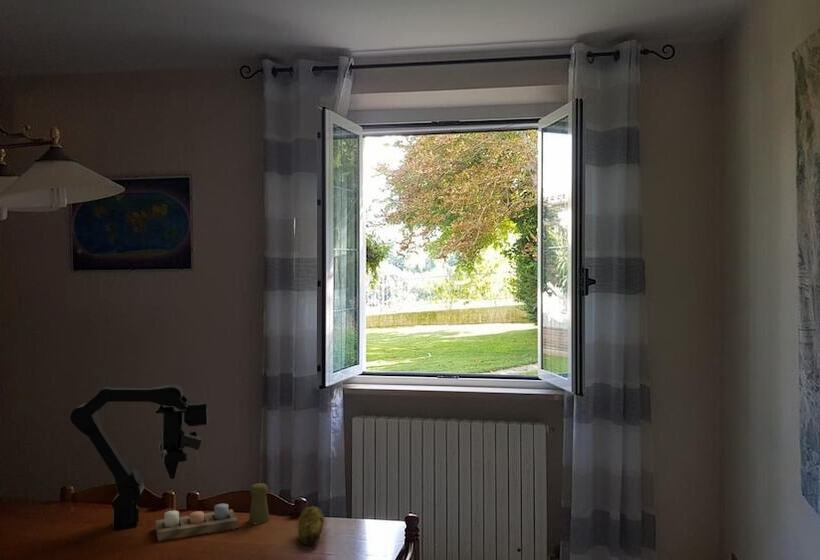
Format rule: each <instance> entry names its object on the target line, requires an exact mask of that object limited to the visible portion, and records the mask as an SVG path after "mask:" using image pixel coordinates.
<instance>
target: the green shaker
mask: <svg viewBox="0 0 820 560" xmlns="http://www.w3.org/2000/svg"><path fill="white" fill-rule="evenodd" d="M249 491H250V495H251V502H250V508H249V509H250V510H249V518H248V522H249V521H250V522H251V523H250V522H249V523H250V524H252V523H256V524H255V525H261V524H260V523H263V524H266V523H268V522H269V521H270V516H269V515H270V514H269V508H268V501H267V494H268V491H269V487H268V485H267V484H265V483H261V482H258V483H254V484H252V485H251V487H250V490H249Z"/></svg>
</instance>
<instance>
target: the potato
mask: <svg viewBox="0 0 820 560" xmlns="http://www.w3.org/2000/svg"><path fill="white" fill-rule="evenodd" d="M324 522H325V519H324V514H323V510H322V509H321V508H320V507H318V506H315V505H310V506H306V507H305V508H303V510H301V513H300V515H299V519H298V524H297V525H298V526H297V528H298V529H297V534H298V538H299V541H300V542H301V543H303V544H304V545H308V546H312V545H315V544H316V543H317V542H318V541H319V540H320V539H321V537H320V536H321V534H322V533H323V532H322V531H323V527H324Z"/></svg>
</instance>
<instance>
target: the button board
mask: <svg viewBox="0 0 820 560" xmlns="http://www.w3.org/2000/svg"><path fill="white" fill-rule="evenodd" d="M235 528H238V529H239V519H238V516H236V514H235V511H234V510H233V509H232V508H231V509H228V519H221V520H214V511H209V512H205V513H204V522H202V523H195V524H190V514H189V515H183V516H179V526H175V527H169V528H164V518H162V519H156V520H155V532H156V533H157V534H156V533H155V534H156V537H157V541H158V542H162V541H163V540H164V541H168V540H169V539H170V540H175V539H182V538H187V537H188V536H189V537H194V536H193V535H195V536H199V535H198V534H201V535H205V534H204V533H208V534H213V533H212V532H214V533H219V532H218V531H220V532H225V531H224V530H227V531H230V530H229V529H233V530H236V529H235ZM181 537H182V538H181ZM174 538H175V539H174Z"/></svg>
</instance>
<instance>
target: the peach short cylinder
mask: <svg viewBox="0 0 820 560" xmlns="http://www.w3.org/2000/svg"><path fill="white" fill-rule="evenodd" d="M189 515H190V524H195V523H202V522H204V511H201V510H200V511H197V510H196V511H193V512H190V513H189Z"/></svg>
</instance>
